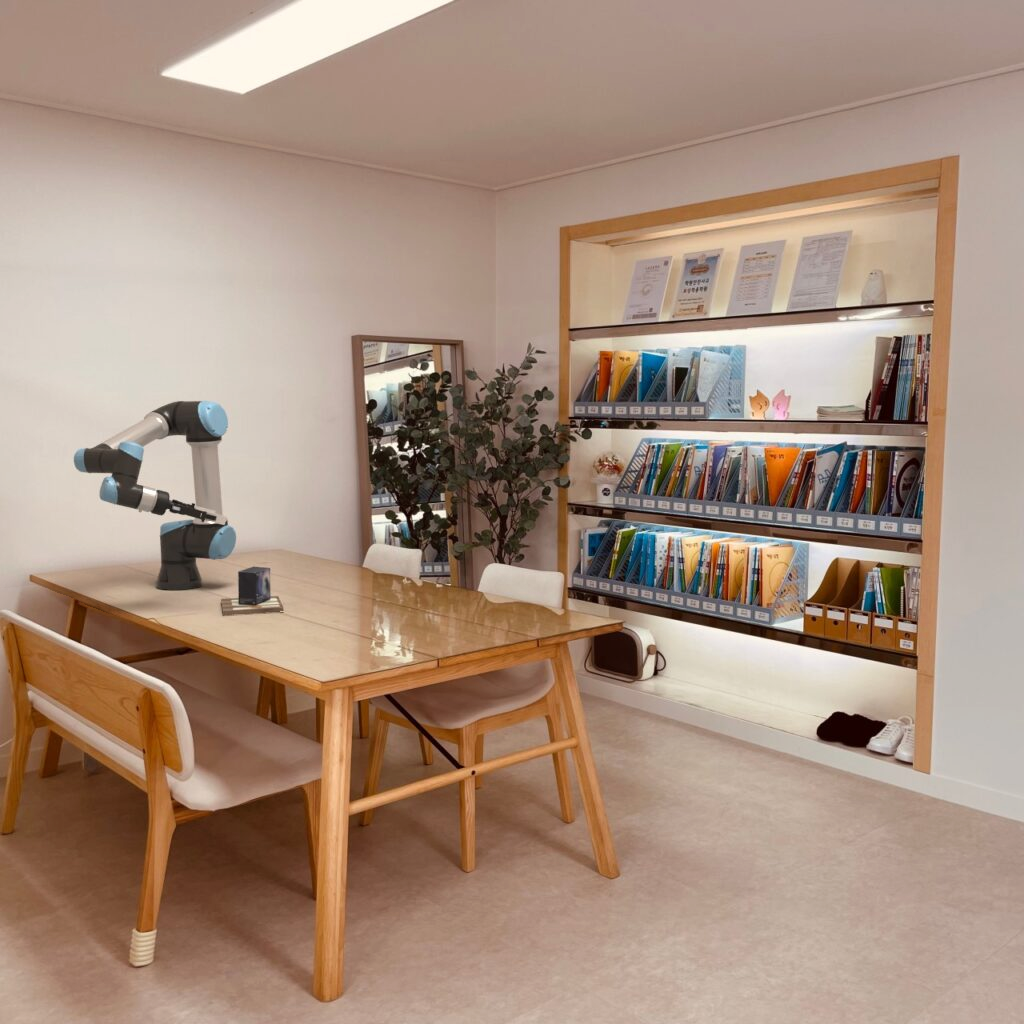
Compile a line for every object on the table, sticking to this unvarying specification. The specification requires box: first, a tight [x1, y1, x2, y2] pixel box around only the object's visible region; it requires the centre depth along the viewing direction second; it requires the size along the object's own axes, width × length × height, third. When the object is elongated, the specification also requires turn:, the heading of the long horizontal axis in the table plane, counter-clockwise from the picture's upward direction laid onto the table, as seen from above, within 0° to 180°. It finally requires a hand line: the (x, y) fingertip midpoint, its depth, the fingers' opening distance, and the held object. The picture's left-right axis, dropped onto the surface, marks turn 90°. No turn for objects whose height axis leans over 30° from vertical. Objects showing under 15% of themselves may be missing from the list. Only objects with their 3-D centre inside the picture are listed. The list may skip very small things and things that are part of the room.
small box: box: [237, 566, 272, 605], centre depth 330 cm, size 11×6×10 cm, turn 167°
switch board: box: [220, 595, 284, 616], centre depth 331 cm, size 20×18×2 cm
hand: (219, 517), depth 333 cm, fingers open, 13 cm apart
